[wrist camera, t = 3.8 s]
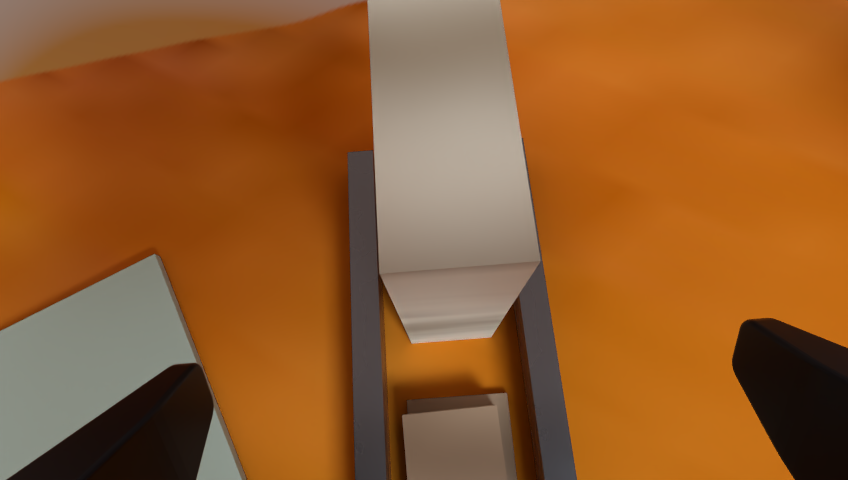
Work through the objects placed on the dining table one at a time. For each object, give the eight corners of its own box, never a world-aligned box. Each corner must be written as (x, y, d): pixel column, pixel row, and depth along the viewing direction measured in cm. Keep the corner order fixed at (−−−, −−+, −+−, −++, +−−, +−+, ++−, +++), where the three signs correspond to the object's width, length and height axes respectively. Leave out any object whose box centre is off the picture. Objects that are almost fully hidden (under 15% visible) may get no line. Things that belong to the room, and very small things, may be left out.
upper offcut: (513, 545, 16) (517, 554, 15) (415, 555, 16) (414, 565, 15) (493, 404, 17) (496, 405, 16) (404, 414, 17) (402, 415, 17)
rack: (596, 678, 15) (612, 706, 14) (368, 694, 15) (360, 723, 14) (517, 156, 21) (522, 138, 20) (354, 169, 21) (347, 152, 20)
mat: (264, 525, 17) (260, 527, 16) (-60, 719, 15) (-73, 727, 15) (160, 256, 20) (154, 253, 20) (-115, 394, 19) (-126, 394, 18)
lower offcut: (520, 544, 17) (525, 552, 16) (417, 551, 17) (415, 560, 16) (503, 393, 19) (506, 392, 18) (408, 400, 19) (407, 400, 18)
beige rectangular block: (491, 337, 19) (540, 261, 9) (411, 343, 19) (379, 273, 9) (471, 171, 21) (495, -27, 11) (401, 176, 21) (366, -16, 11)
